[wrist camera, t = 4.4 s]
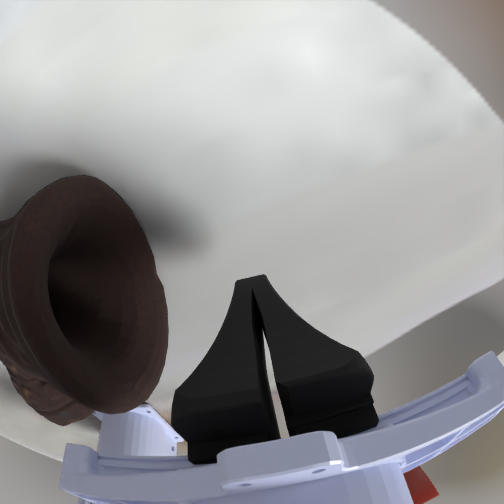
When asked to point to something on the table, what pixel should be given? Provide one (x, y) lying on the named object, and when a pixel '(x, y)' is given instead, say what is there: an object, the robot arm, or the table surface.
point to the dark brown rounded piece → (80, 303)
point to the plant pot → (419, 486)
